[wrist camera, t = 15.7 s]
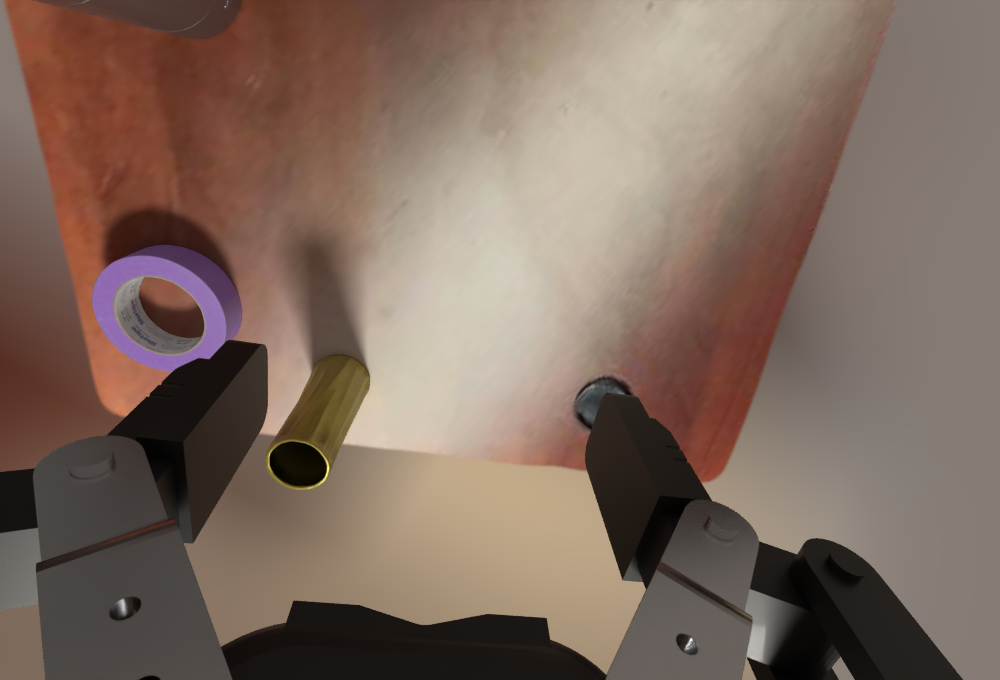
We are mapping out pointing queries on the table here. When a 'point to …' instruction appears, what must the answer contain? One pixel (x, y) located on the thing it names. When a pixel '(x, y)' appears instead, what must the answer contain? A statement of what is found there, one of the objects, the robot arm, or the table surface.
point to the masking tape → (134, 328)
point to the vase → (318, 424)
